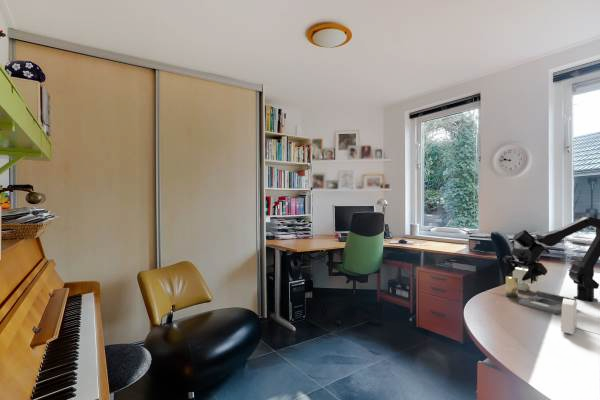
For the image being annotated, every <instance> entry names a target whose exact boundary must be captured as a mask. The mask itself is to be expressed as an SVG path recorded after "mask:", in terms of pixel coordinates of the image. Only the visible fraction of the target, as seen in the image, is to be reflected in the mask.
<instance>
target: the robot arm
mask: <svg viewBox="0 0 600 400" xmlns="http://www.w3.org/2000/svg"><path fill="white" fill-rule="evenodd" d="M588 227H593V228H595V237H594V239H593V240H592V242H591V244H590V245H589V247H588V248H587V250H586V252H585V254H584V255H583V256H582V259H581V261H580V262H578V263H577V264H576V263H572V264H571V266H570V268H569V269H568V270H567V271H568V276H569V278H570V279H571V280H572V281H573V284H576V292H577V293H576V295H575V296H573V299H576V300H581V301H586V302H592V303H593V302H596V301H598V298H596V297H595V289H598V288H599V286H600V284H599V283H598V282H597V281H596V280H595V279H594V276H595V269H594V268H595V266H596V264H597V263H598V261H599V259H600V218H596V217H593V216H582V217H581V218H578V219H577V220H575V221H573V222H570V223H568V224H566V225H564V226H562V227H559V228H557V229H555V230H550V231H546V232H543V233H540V234H538V235H536V236H535V235H532V234H530V233H529V231H527V230H526V229H523V230H522V231H520V232H517V233H516V234H514V236H513V237H512V240H514V242H516V243H517V244H519V246H521V247H522V248H524V249H521V248H516V247H513V248H512V251H511V253H510V254H511V255H513V256H515V258H514V257H513V256H509V255H504V256H503V258H502V260H503V262H504V263H505V269H504V276H505V277H506V276H508V275H509V274H510V273H511V272H513V271H514V270H515V269H516V267H524V268H526V269H528V271H527V272H526V273H525V275H524V276H523V278H522V281H525V280H528V279H530V278H533V277H536V276H538V277H539V276H546V275H547V273H548V269H547V267H545V266H544V264H543V263H542V262H540V257H541V256H542V255H543V254H545V255H546V254H550V250H549V248H548V247H555V246H556V245H557V244H559V243H560V242H562V241H563V239H565V238H566V237H568V236H571V235H572V234H576V233H577V232H579V231H582V230H584V229H586V228H588ZM545 246H546V247H545ZM516 259H517V260H516Z"/></svg>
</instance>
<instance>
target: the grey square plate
mask: <svg viewBox="0 0 600 400" xmlns="http://www.w3.org/2000/svg"><path fill="white" fill-rule="evenodd" d="M500 297H504V298H508V299H512V300H514V301H515V300H516V301H517V300H521V299H524V298H525V297H524V296H520V295H518V298H510V297H507V296H506V293H505V294H501V295H500Z"/></svg>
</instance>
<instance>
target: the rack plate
mask: <svg viewBox="0 0 600 400" xmlns="http://www.w3.org/2000/svg"><path fill="white" fill-rule="evenodd" d="M563 298H565V299H571V300H575V301H576V302H577V298H572V297H568V296H562V295H558V294H554V293H549V292H545V291H541V290H536V295H533V296H529V297H528V296H527V297H526V298H525V297H524V298H521V299H518V304H519V305H523V306H526V307H529V308H532V309H536V310H540V311H544V312H548V313H551V314H553V315H556V316H560V315H562V303H563Z"/></svg>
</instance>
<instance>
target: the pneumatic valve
mask: <svg viewBox="0 0 600 400" xmlns="http://www.w3.org/2000/svg"><path fill="white" fill-rule="evenodd" d="M527 271H528V268H525V267H524V266H521V267H519V266H517V267H516V269H515V270H514V271H513V272H511V273H510V274H509V275H507V276H511V277H517V278H518V291H526V292H527V291H530V289H531V286H530V285H529V284H534V283H536V282H537V283H538V281H539V276H536V277H533V278H530V279H528V280H525V281H522V278H523V276H524V275H525V273H526V272H527Z"/></svg>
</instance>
